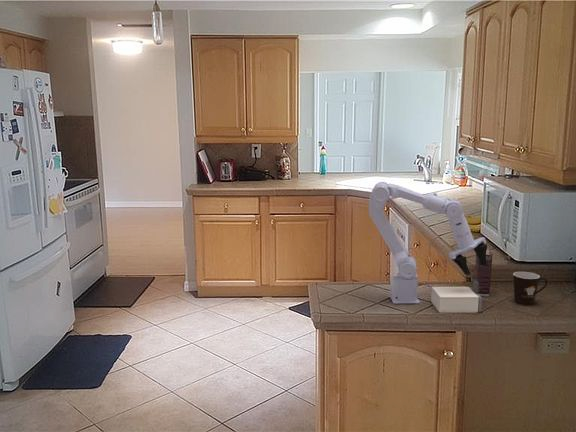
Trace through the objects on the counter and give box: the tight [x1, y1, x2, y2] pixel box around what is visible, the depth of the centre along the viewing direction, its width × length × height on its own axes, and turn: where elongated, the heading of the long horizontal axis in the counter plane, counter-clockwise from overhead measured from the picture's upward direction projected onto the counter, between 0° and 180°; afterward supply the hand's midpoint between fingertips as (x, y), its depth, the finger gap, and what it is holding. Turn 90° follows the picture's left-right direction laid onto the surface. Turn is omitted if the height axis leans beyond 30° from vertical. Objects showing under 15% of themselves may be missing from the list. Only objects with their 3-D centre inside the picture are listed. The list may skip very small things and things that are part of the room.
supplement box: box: [473, 249, 493, 297], centre depth 204 cm, size 9×5×16 cm, turn 168°
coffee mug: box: [512, 271, 548, 306], centre depth 194 cm, size 12×9×10 cm
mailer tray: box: [468, 279, 483, 313], centre depth 190 cm, size 13×11×9 cm
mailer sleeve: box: [430, 286, 479, 314], centre depth 190 cm, size 13×11×6 cm
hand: (475, 269), depth 190 cm, fingers open, 7 cm apart
